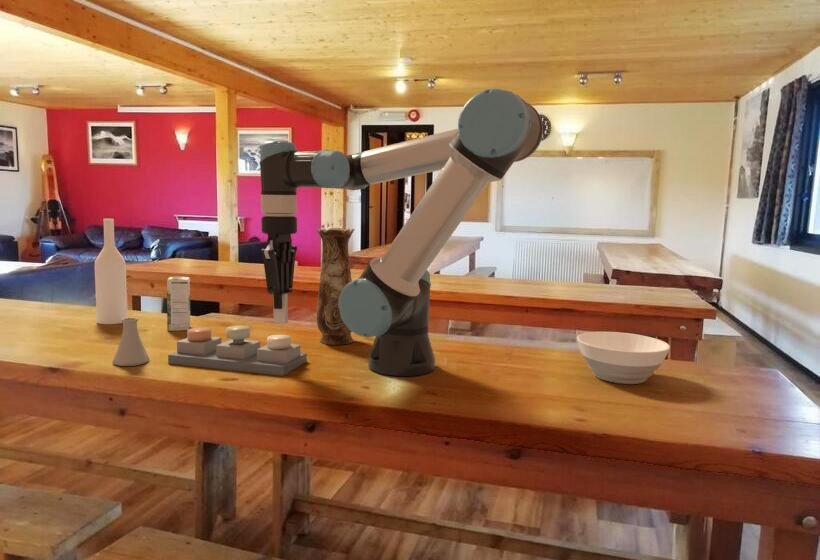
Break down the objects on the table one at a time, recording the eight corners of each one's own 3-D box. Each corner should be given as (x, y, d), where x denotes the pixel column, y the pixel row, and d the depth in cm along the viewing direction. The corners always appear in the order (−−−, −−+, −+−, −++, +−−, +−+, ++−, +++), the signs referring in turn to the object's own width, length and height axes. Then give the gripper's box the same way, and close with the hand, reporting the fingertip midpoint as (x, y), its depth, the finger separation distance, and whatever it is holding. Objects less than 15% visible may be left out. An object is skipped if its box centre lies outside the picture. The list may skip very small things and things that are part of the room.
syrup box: (168, 327, 168) (167, 276, 166) (191, 326, 170) (190, 276, 168) (167, 331, 163) (165, 279, 161) (190, 330, 165) (188, 279, 163)
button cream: (294, 354, 134) (294, 335, 133) (284, 359, 129) (284, 341, 128) (273, 352, 135) (273, 333, 134) (262, 357, 130) (262, 339, 129)
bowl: (672, 374, 135) (675, 339, 134) (659, 397, 119) (663, 357, 118) (586, 360, 145) (588, 327, 144) (564, 380, 129) (566, 343, 127)
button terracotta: (215, 346, 138) (215, 328, 138) (203, 351, 133) (202, 333, 133) (196, 344, 140) (196, 326, 139) (182, 349, 135) (182, 331, 134)
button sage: (254, 344, 136) (254, 326, 135) (243, 349, 131) (242, 331, 130) (234, 342, 137) (234, 324, 137) (222, 347, 132) (221, 329, 132)
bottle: (123, 318, 178) (120, 218, 174) (131, 322, 172) (127, 219, 168) (93, 320, 173) (89, 218, 169) (100, 325, 167) (96, 219, 163)
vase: (339, 348, 150) (340, 229, 146) (307, 341, 156) (307, 227, 152) (363, 340, 159) (365, 228, 155) (332, 334, 165) (333, 226, 161)
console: (306, 361, 137) (306, 342, 136) (283, 375, 125) (283, 355, 125) (199, 350, 144) (199, 332, 143) (168, 363, 132) (167, 343, 131)
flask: (135, 368, 128) (133, 323, 126) (105, 365, 129) (103, 320, 128) (155, 359, 135) (154, 316, 133) (127, 357, 136) (126, 314, 135)
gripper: (277, 214, 135) (278, 316, 138) (248, 215, 122) (250, 327, 125) (307, 215, 133) (308, 318, 136) (281, 216, 120) (283, 329, 123)
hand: (280, 322), depth 131 cm, fingers closed
